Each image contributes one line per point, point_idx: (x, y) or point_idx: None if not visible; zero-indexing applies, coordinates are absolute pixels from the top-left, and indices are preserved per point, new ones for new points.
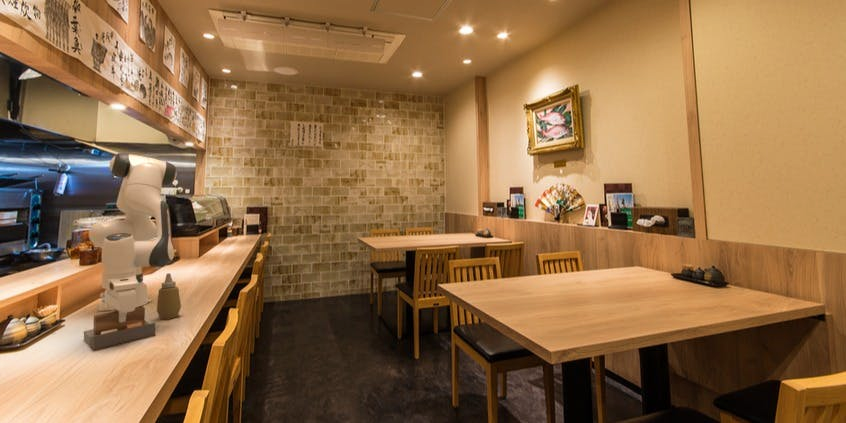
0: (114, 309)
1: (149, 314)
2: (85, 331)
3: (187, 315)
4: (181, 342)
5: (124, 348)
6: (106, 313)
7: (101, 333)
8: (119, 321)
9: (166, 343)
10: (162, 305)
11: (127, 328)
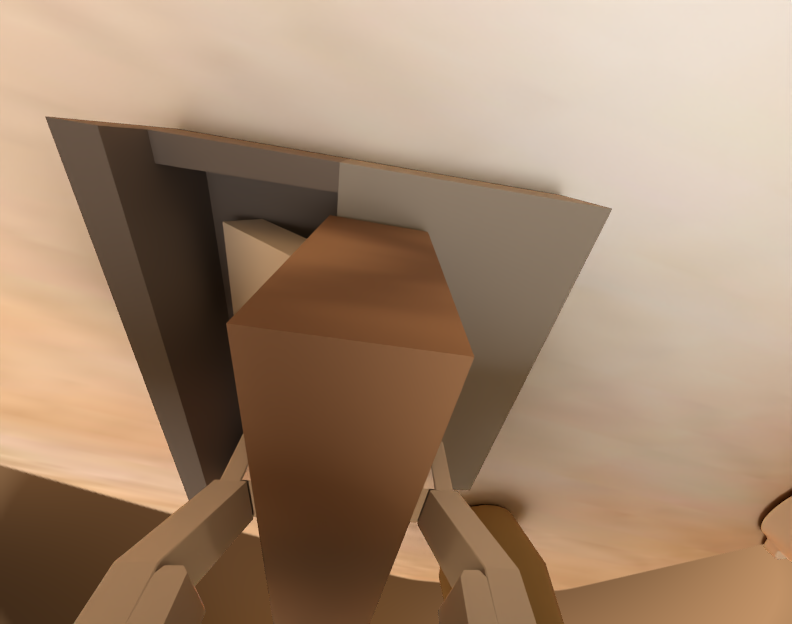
0: (475, 569)
1: (610, 502)
2: (589, 216)
3: (428, 547)
4: (6, 448)
5: (89, 277)
6: (384, 486)
7: (282, 254)
8: (242, 435)
9: (35, 415)
10: None
11: None
